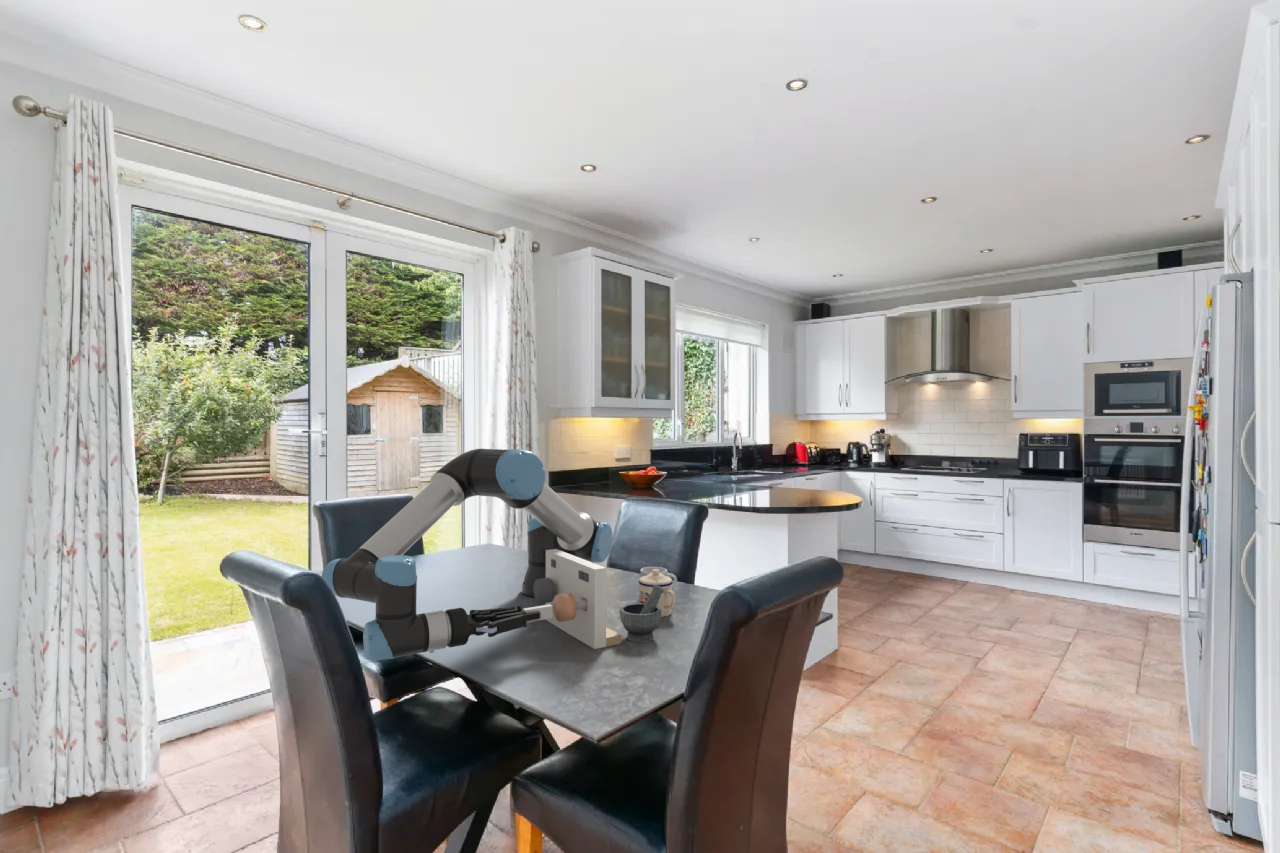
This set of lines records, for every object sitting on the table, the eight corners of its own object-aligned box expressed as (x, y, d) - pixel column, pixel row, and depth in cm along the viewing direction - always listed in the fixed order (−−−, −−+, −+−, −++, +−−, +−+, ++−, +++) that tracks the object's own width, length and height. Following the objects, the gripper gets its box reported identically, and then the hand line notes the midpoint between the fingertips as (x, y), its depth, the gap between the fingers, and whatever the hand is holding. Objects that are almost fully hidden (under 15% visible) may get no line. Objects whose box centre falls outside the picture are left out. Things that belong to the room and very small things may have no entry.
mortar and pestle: (632, 647, 149) (632, 594, 149) (612, 635, 158) (612, 585, 157) (673, 639, 155) (673, 588, 155) (652, 628, 163) (652, 580, 163)
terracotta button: (564, 625, 146) (564, 598, 146) (552, 618, 151) (553, 592, 151) (601, 618, 151) (601, 592, 151) (589, 611, 156) (589, 586, 156)
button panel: (593, 649, 148) (593, 569, 148) (544, 619, 170) (544, 550, 169) (621, 643, 152) (621, 565, 152) (569, 615, 174) (570, 547, 173)
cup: (677, 594, 196) (677, 567, 196) (676, 601, 188) (676, 573, 188) (641, 592, 197) (641, 566, 197) (638, 600, 189) (638, 572, 189)
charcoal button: (543, 606, 161) (543, 581, 161) (533, 600, 166) (533, 576, 166) (578, 600, 166) (578, 577, 166) (567, 595, 171) (567, 572, 171)
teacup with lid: (631, 612, 176) (631, 569, 176) (656, 606, 182) (657, 564, 182) (661, 623, 167) (662, 577, 167) (687, 616, 173) (687, 572, 173)
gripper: (436, 638, 140) (538, 620, 153) (455, 656, 129) (563, 635, 142) (436, 603, 140) (539, 588, 153) (455, 618, 129) (564, 601, 142)
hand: (550, 611), depth 147 cm, fingers closed
